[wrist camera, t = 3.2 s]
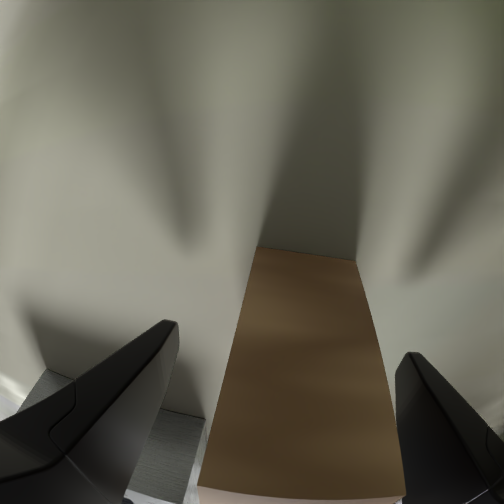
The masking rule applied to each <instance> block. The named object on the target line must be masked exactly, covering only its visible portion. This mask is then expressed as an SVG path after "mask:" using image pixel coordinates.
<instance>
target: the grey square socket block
mask: <svg viewBox="0 0 504 504" xmlns="http://www.w3.org/2000/svg"><path fill="white" fill-rule="evenodd" d="M72 381H74V380H71V379H69V378H66V377H64V376H62V375H59V374H57V373H54V372H52V371H50V370H47V369H46V370H45V372H44V373H43V374H42V376H41V377H40V379H39V380H38V381H37V383H36V384H35V386H34V387H33V389H32V390H31V392H30V393H29V395H28V396H27V398H26V399H25V401H24V402H23V404H22V405H21V407H20V408H19V410H18V411H17V413H18V412H20V411H22V410H24V409H26V408H28V407H30V406H32V405H34V404H36V403H37V402H39V401H41V400H43V399H45V398H46V397H48V396H50V395H52V394H53V393H55V392H56V391H58V390H60V389H61V388H63V387H64V386H66V385H67V384H69V383H70V382H72ZM205 450H206V419H201V418H197V417H192V416H188V415H183V414H179V413H175V412H171V411H167V410H163V409H159V412H158V414H157V416H156V419H155V421H154V423H153V426H152V428H151V431H150V433H149V435H148V438H147V440H146V443H145V445H144V448H143V450H142V452H141V455H140V457H139V460H138V462H137V465H136V467H135V470H134V472H133V475H132V477H131V480H130V482H129V485H128V487H127V490H126V492H125V495H124V497H123V500H122V502H121V504H200V502H199V497H198V491H197V482H198V478H199V474H200V470H201V466H202V462H203V458H204V454H205Z"/></svg>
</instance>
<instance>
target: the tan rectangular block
mask: <svg viewBox="0 0 504 504" xmlns="http://www.w3.org/2000/svg"><path fill="white" fill-rule="evenodd" d="M197 491H198V497H199V502H200V504H394V503H395V502H397V501H398V500H400V499H401V498H403V497H404V496H406V488H405V480H404V472H403V465H402V458H401V451H400V445H399V439H398V433H397V427H396V421H395V416H394V411H393V406H392V401H391V396H390V391H389V386H388V381H387V377H386V372H385V368H384V364H383V359H382V355H381V351H380V347H379V343H378V339H377V335H376V331H375V327H374V324H373V320H372V316H371V312H370V309H369V305H368V302H367V298H366V295H365V291H364V288H363V284H362V281H361V278H360V274H359V271H358V268H357V265H356V262H355V261H352V260H345V259H338V258H332V257H325V256H318V255H311V254H305V253H298V252H291V251H284V250H277V249H270V248H264V247H256V251H255V255H254V260H253V264H252V268H251V272H250V276H249V280H248V284H247V288H246V292H245V296H244V300H243V304H242V308H241V312H240V316H239V320H238V324H237V328H236V332H235V336H234V340H233V344H232V348H231V352H230V356H229V359H228V363H227V367H226V371H225V375H224V379H223V383H222V387H221V391H220V395H219V399H218V403H217V407H216V411H215V415H214V419H213V423H212V427H211V431H210V435H209V439H208V443H207V447H206V450H205V454H204V458H203V462H202V466H201V470H200V474H199V478H198V482H197Z"/></svg>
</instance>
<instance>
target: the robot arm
mask: <svg viewBox="0 0 504 504" xmlns="http://www.w3.org/2000/svg"><path fill="white" fill-rule="evenodd" d="M178 350H179V329H178V323H177V322H175V321H171V320H166V319H164V320H162V321H160V322H159V323H157V324H156V325H154V326H153V327H151V328H150V329H148V330H147V331H145V332H144V333H143V334H141V335H140V336H138V337H137V338H135V339H134V340H132V341H131V342H129V343H128V344H126V345H125V346H123V347H122V348H121V349H119V350H118V351H116V352H115V353H113V354H112V355H110V356H109V357H107V358H106V359H104V360H103V361H101V362H100V363H98V364H97V365H95V366H94V367H93V368H91V369H90V370H88V371H87V372H85V373H84V374H82V375H81V376H79V377H78V378H76V379H75V381H72V382H70V383H69V384H67V385H66V386H64V387H63V388H61V389H60V390H58V391H56V392H55V393H53V394H52V395H50V396H48V397H46V398H45V399H43V400H41V401H39V402H37V403H36V404H34V405H32V406H30V407H28V408H26V409H24V410H22V411H20V412H18V413H16V414H14V415H12V416H10V417H8V418H6V419H4V420H2V421H0V504H121V502H122V500H123V497H124V495H125V492H126V490H127V487H128V485H129V482H130V480H131V477H132V475H133V472H134V470H135V467H136V465H137V462H138V460H139V457H140V455H141V452H142V450H143V448H144V445H145V443H146V440H147V438H148V435H149V433H150V431H151V428H152V426H153V423H154V421H155V419H156V416H157V414H158V412H159V409H160V407H161V404H162V402H163V400H164V397H165V394H166V391H167V388H168V385H169V381H170V378H171V374H172V371H173V367H174V364H175V360H176V357H177V353H178ZM395 393H396V425H397V433H398V439H399V445H400V451H401V458H402V465H403V472H404V480H405V488H406V496H404V497H403V498H402V504H504V442H503V441H502V440H501V439H500V438H499V437H498V435H497V434H496V433H495V432H494V431H493V430H492V429H491V428H490V427H489V426H488V425H487V423H486V422H485V421H484V420H483V419H482V418H481V417H480V416H479V414H478V413H477V412H476V411H475V410H474V409H473V408H472V407H471V406H470V405H469V404H468V403H467V401H466V400H465V399H464V398H463V397H462V396H461V395H460V394H459V393H458V392H457V391H456V390H455V389H454V388H453V387H452V385H451V384H450V383H449V382H448V381H447V380H446V379H445V378H444V377H443V376H442V375H441V374H440V373H439V372H438V371H437V370H436V369H435V368H434V367H433V366H432V365H431V364H430V363H429V362H428V361H427V360H426V358H425V357H424V356H423V355H422V354H420V353H418V352H407V353H406V354H405V356H404V357H403V359H402V361H401V363H400V365H399V366H398V368H397V370H396V373H395ZM394 504H395V503H394Z"/></svg>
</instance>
